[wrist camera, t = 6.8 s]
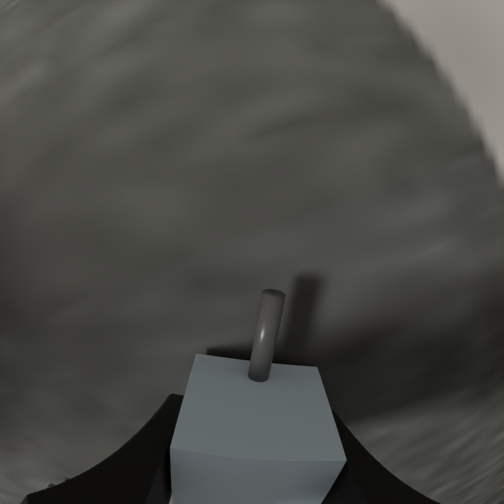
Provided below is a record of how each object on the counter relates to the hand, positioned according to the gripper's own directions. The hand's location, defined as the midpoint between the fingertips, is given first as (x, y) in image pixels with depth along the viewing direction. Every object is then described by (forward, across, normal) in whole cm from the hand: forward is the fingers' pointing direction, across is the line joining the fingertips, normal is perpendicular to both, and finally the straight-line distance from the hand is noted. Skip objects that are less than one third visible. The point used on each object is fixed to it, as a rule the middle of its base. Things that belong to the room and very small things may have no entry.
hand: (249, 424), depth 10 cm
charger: (+2, 0, 0) cm, 2 cm away
